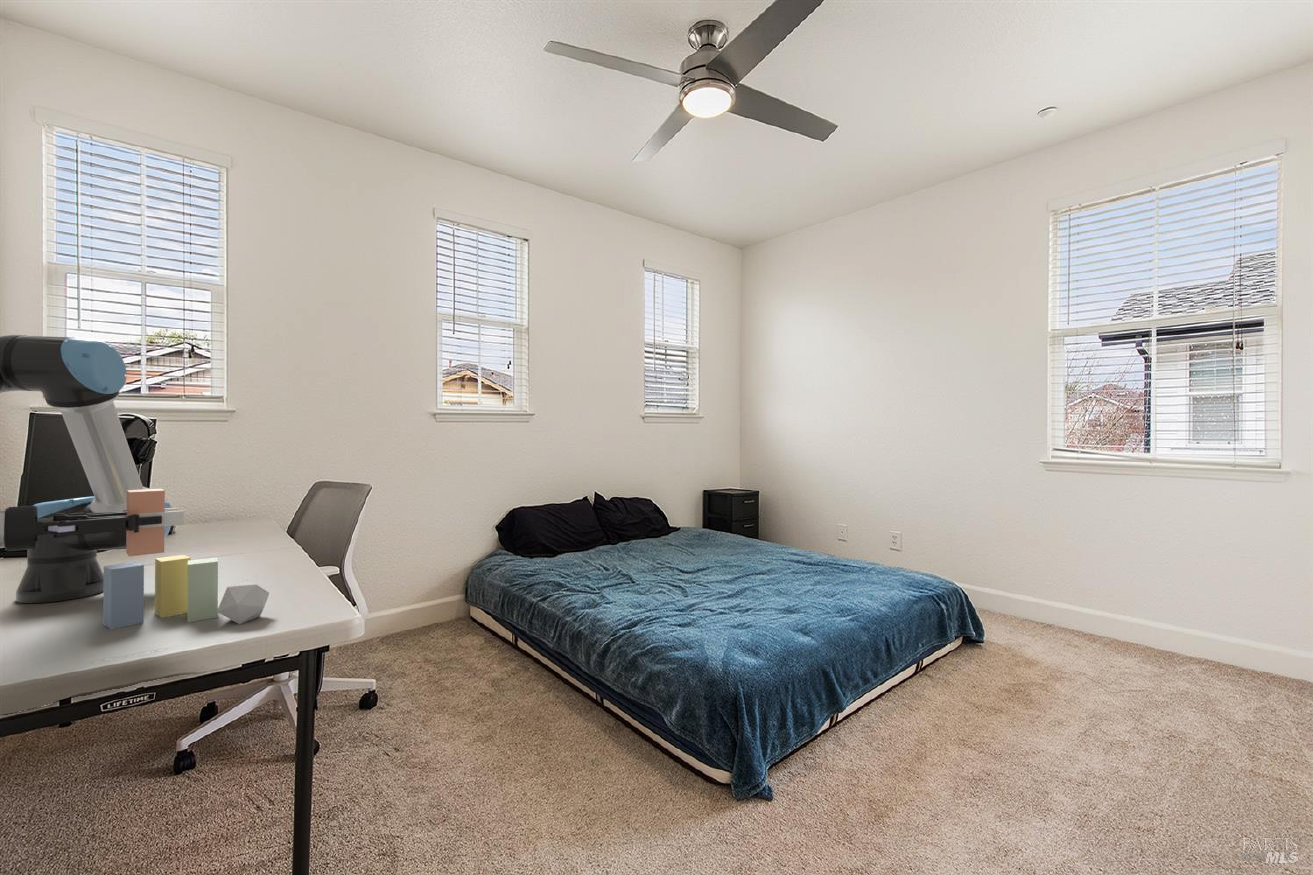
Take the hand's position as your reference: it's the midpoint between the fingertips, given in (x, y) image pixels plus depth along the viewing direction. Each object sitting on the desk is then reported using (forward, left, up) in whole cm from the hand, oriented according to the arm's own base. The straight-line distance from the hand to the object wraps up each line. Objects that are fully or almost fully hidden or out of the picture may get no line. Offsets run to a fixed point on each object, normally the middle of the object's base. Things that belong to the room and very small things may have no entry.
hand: (180, 515), depth 113 cm
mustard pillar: (-16, +1, -23) cm, 28 cm away
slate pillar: (-14, -7, -23) cm, 28 cm away
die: (+1, +10, -23) cm, 25 cm away
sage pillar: (-8, +5, -23) cm, 25 cm away
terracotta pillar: (0, -5, -6) cm, 8 cm away
